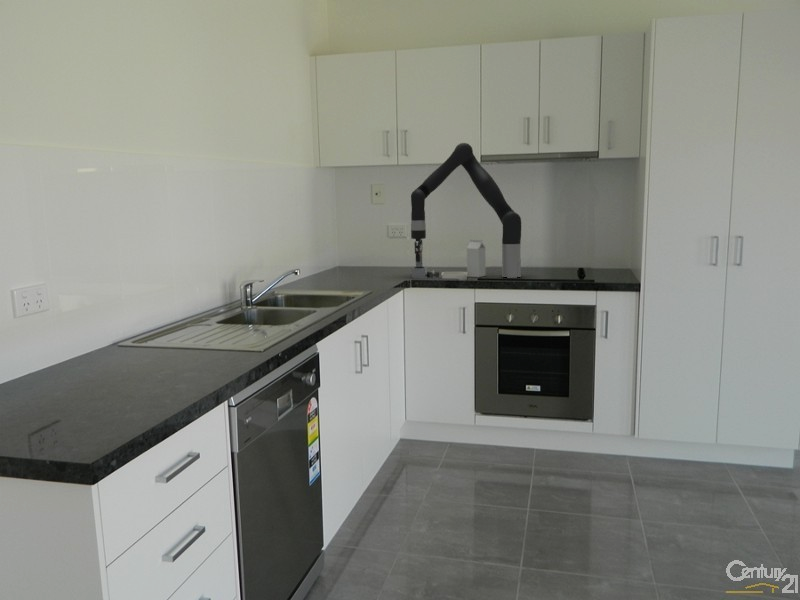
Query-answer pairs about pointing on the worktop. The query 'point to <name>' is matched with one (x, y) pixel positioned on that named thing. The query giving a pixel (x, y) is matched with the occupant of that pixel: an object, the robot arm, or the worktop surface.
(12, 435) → the worktop surface
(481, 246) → the milk carton
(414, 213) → the robot arm
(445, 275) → the tray
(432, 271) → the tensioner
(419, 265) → the lock pin
